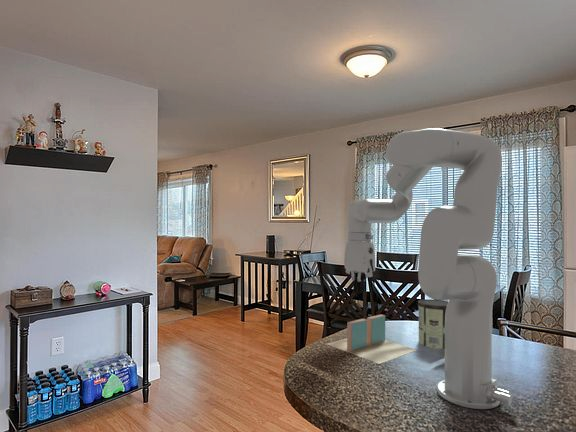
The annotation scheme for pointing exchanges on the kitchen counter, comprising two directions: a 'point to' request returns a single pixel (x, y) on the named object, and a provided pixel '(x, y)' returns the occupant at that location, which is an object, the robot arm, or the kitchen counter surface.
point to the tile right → (375, 329)
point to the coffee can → (432, 323)
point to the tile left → (356, 334)
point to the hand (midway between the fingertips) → (358, 292)
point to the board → (376, 350)
